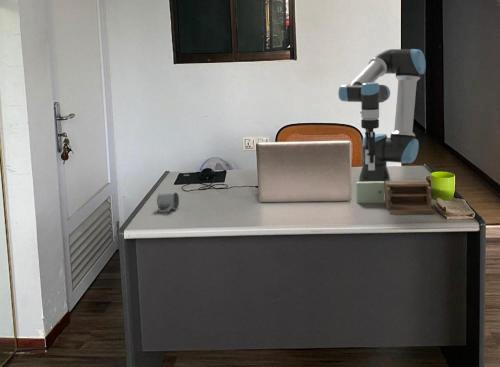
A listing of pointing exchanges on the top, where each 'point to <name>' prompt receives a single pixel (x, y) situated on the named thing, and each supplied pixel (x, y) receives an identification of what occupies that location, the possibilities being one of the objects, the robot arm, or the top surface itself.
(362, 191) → the pale green box
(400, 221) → the top surface
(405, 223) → the top surface
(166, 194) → the ceramic mug
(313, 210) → the top surface
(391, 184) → the cabinet
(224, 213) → the top surface
